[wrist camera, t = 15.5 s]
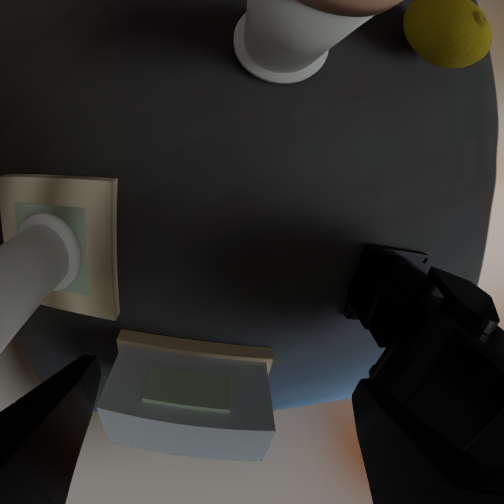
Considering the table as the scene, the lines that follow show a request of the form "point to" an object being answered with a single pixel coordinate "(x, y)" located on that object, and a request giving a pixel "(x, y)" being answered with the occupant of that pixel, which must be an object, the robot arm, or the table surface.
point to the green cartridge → (35, 268)
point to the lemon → (447, 32)
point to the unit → (189, 397)
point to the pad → (84, 225)
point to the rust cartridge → (297, 34)
